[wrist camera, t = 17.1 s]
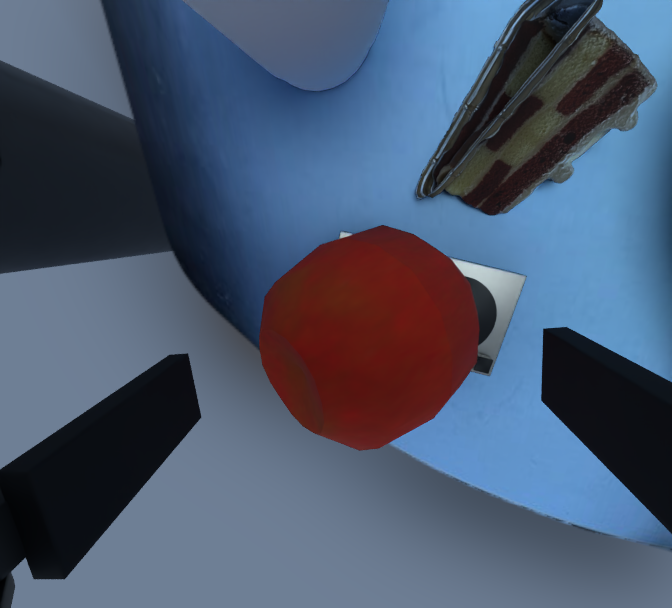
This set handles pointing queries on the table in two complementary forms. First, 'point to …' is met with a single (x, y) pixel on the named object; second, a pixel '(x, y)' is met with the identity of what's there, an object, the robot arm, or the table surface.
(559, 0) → the chocolate cake
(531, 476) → the table surface
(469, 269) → the hob plate
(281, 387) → the apple
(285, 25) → the cup
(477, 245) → the table surface
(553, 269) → the table surface
